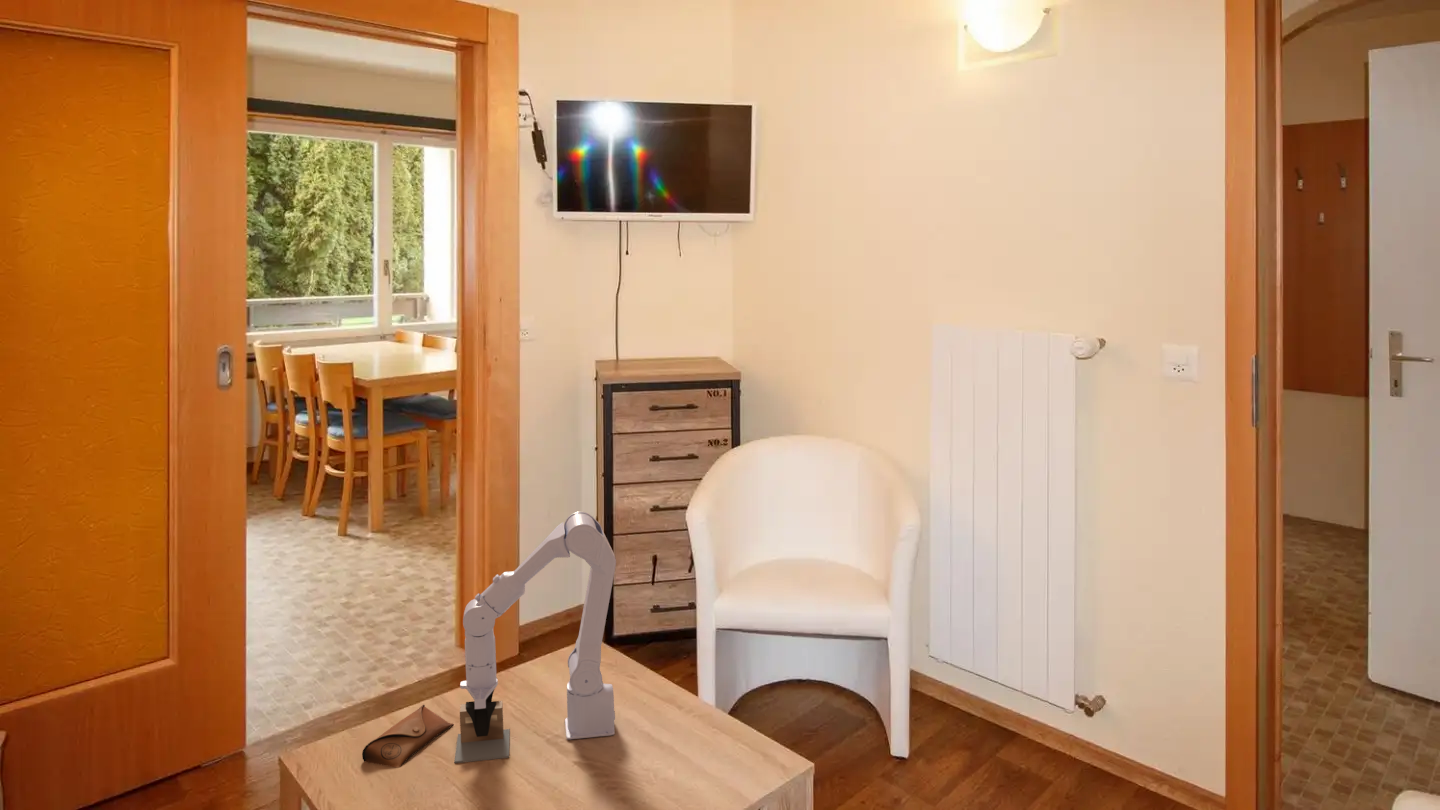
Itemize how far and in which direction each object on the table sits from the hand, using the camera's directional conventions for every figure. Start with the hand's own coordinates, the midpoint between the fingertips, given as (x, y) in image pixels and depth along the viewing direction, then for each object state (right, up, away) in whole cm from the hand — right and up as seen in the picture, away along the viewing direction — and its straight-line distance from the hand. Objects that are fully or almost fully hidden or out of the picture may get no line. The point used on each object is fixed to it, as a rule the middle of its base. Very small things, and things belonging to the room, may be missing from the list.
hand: (483, 725), depth 180 cm
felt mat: (+1, -3, -2) cm, 4 cm away
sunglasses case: (-14, -4, -1) cm, 15 cm away
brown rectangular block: (0, -2, 0) cm, 2 cm away
